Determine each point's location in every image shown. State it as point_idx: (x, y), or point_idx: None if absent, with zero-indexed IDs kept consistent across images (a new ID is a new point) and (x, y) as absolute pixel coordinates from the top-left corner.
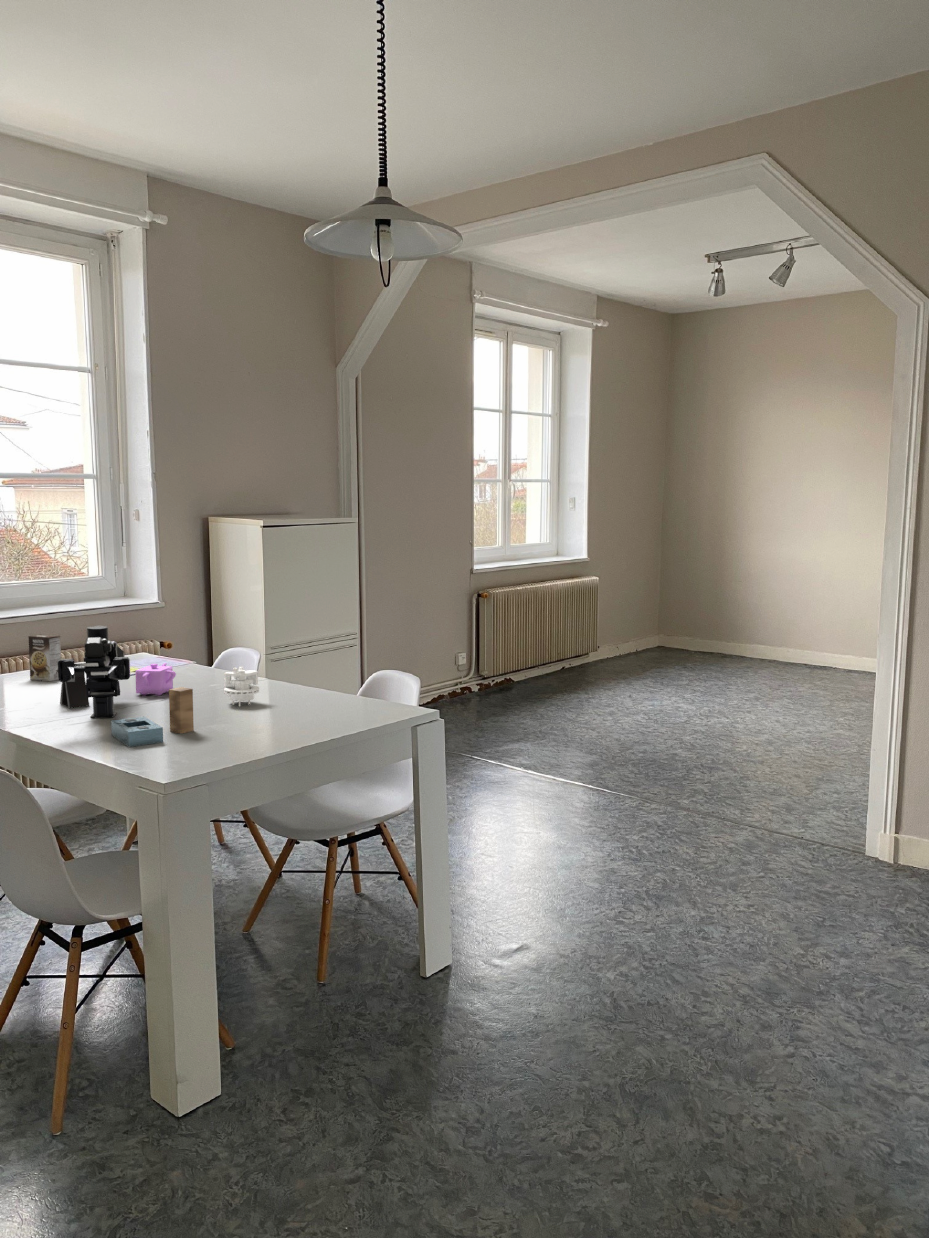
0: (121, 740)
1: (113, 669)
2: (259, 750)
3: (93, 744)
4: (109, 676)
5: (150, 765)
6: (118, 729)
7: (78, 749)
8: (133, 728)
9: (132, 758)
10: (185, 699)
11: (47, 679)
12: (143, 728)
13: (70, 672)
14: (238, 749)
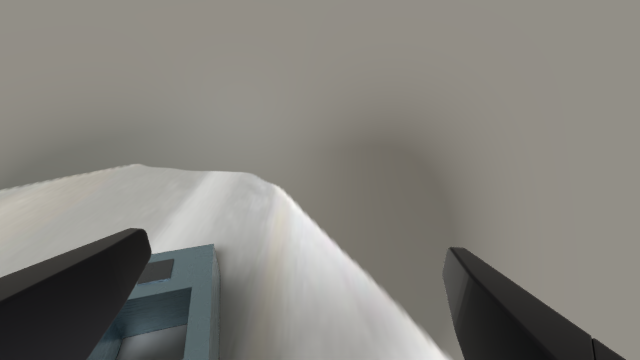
0: (218, 332)
1: (4, 276)
2: (25, 201)
3: (304, 325)
4: (138, 249)
5: (227, 181)
6: (212, 339)
7: (342, 285)
8: (184, 272)
9: (240, 208)
10: None
11: None
12: (161, 261)
13: (526, 297)
14: (45, 212)
